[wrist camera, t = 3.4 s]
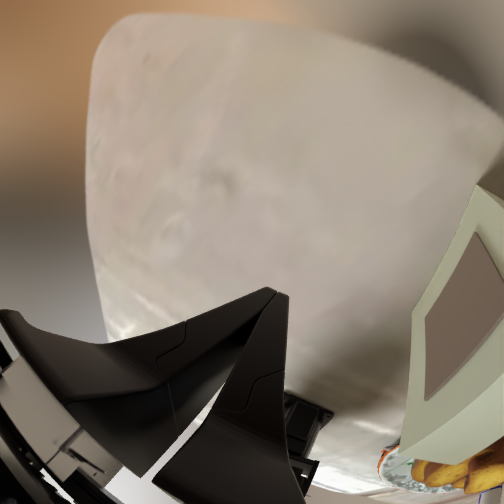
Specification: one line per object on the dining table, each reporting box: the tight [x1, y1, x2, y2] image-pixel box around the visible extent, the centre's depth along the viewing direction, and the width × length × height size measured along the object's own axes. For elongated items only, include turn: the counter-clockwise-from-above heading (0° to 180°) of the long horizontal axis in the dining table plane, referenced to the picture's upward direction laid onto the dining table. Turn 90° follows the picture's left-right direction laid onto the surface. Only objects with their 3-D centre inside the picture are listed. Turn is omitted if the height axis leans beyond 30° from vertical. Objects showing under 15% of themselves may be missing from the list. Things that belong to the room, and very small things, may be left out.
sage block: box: [397, 184, 504, 465], centre depth 10 cm, size 10×4×11 cm, turn 170°
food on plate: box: [377, 436, 504, 494], centre depth 18 cm, size 25×25×7 cm
